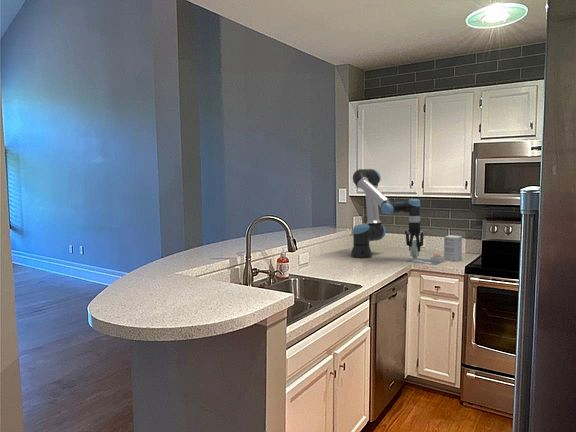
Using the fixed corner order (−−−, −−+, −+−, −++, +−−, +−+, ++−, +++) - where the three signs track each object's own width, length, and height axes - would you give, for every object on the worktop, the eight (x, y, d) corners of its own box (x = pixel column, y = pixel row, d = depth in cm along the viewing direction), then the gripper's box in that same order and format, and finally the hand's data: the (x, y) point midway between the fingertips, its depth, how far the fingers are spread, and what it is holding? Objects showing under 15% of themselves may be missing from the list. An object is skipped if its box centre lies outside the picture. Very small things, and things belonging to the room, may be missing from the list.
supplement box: (448, 258, 293) (448, 235, 292) (462, 260, 288) (462, 235, 286) (443, 261, 286) (443, 236, 285) (457, 262, 280) (457, 237, 279)
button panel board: (404, 262, 285) (404, 256, 285) (414, 258, 297) (414, 252, 297) (435, 266, 270) (435, 259, 270) (445, 262, 282) (445, 256, 282)
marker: (411, 257, 286) (410, 240, 285) (413, 257, 288) (413, 239, 288) (416, 258, 283) (415, 240, 283) (418, 257, 286) (418, 240, 285)
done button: (433, 259, 282) (433, 253, 281) (435, 258, 284) (435, 252, 284) (438, 260, 279) (438, 254, 279) (440, 259, 282) (440, 253, 282)
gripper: (400, 221, 287) (400, 255, 289) (423, 222, 276) (424, 258, 278) (405, 221, 292) (405, 254, 294) (428, 221, 281) (428, 256, 283)
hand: (414, 256), depth 286 cm, fingers closed on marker, 3 cm apart
